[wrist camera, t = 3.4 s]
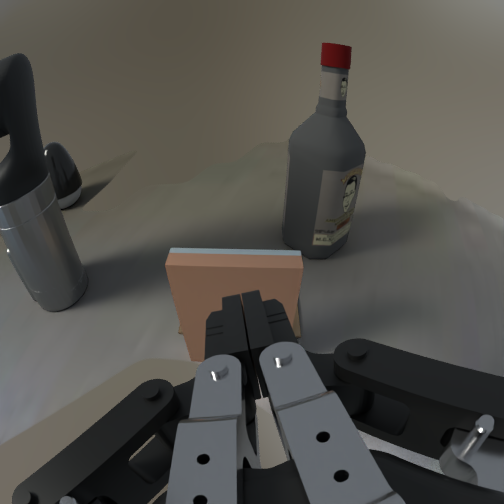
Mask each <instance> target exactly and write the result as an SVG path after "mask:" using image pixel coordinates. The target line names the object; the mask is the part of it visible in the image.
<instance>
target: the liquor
mask: <svg viewBox="0 0 504 504" xmlns="http://www.w3.org/2000/svg"><path fill="white" fill-rule="evenodd" d="M350 64H351V47H350V46H345V45H340V44H332V43H322V52H321V65H322V71H321V83H320V94H319V103H318V105H317V107H316V112H315V113H314V114H313V115H311V116H310V117H309V118H308V119H307V120H306V121H305V122H303V124H301V125H300V126H299V127H298V128H297V129H296V130H294V131H293V133H292V135H291V137H290V139H289V148H288V162H287V176H286V188H285V201H284V213H283V224H282V234H283V240H284V242H285V244H286V245H288V246H290V247H291V248H293V249H295V250H298V251H301V254H303V255H304V256H306V257H307V258H309V259H326V258H328V257H329V256H330V255H331V254H333V253H334V252H335V251H336V250H338V249H339V248H340V247H341V246H343V245H344V244H345V243H346V241H347V237H348V233H349V229H350V225H351V221H352V217H353V212H354V208H355V204H356V199H357V194H358V190H359V185H360V180H361V175H362V170H363V165H364V160H365V154H366V152H365V147H364V143H363V142H362V140H361V138H360V137H359V135H358V134H357V132H356V131H355V129H354V127H353V126H352V124H351V123H350V121H349V120H348V119H347V117H346V115H347V110H346V96H347V84H348V70H349V69H350Z"/></svg>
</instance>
